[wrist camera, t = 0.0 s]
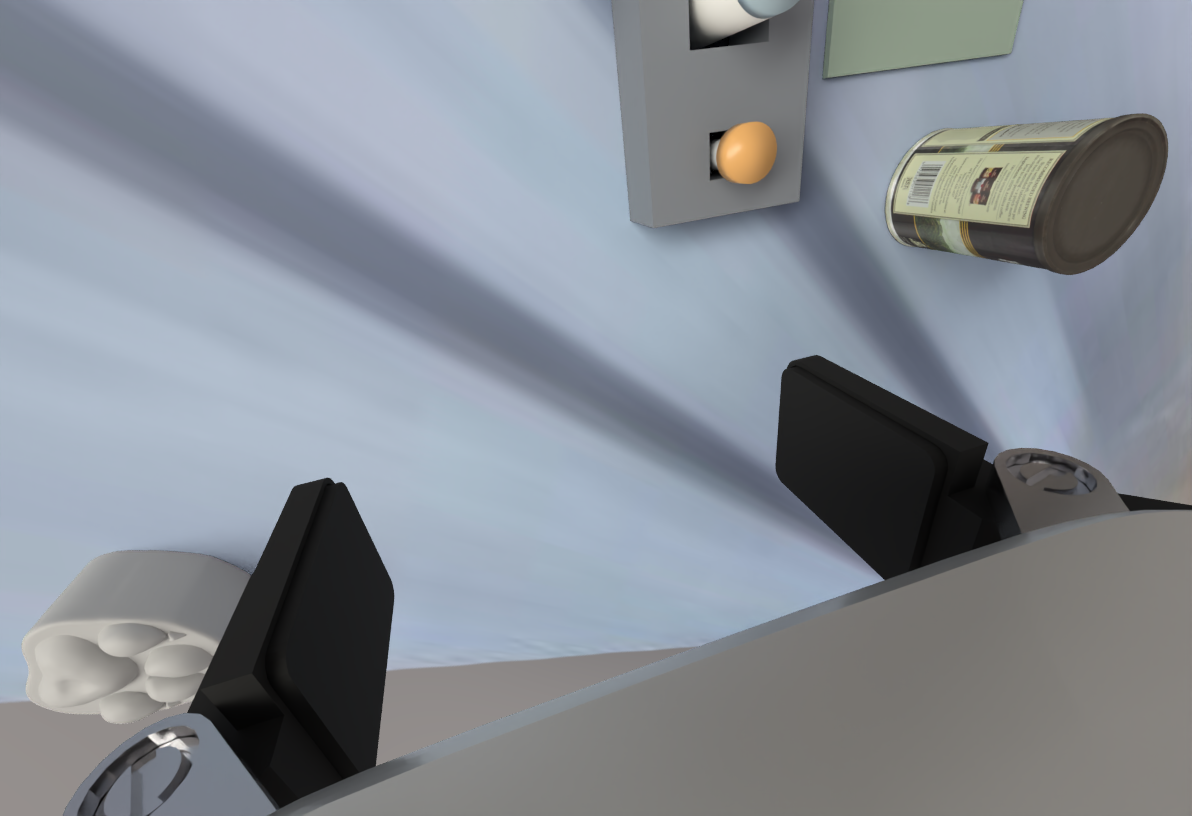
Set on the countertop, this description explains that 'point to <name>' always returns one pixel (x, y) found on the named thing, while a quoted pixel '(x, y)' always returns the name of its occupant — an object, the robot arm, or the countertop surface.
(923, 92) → the countertop surface
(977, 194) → the coffee can
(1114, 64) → the countertop surface
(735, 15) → the cartridge
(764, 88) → the block
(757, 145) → the orange egg
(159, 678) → the lumpy-topped squat cylinder
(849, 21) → the mat
